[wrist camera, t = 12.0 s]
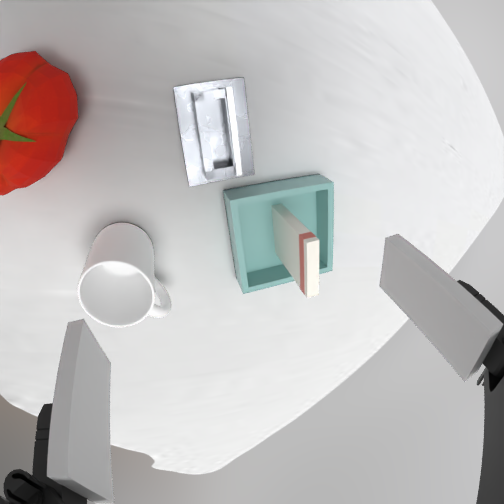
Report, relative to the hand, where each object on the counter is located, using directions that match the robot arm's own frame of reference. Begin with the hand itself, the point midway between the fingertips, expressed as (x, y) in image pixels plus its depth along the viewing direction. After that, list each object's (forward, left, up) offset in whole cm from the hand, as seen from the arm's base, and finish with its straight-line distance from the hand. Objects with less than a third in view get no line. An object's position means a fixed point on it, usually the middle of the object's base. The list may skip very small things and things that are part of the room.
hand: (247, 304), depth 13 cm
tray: (+11, +10, -27) cm, 31 cm away
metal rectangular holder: (-3, +4, -27) cm, 28 cm away
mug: (+11, -9, -28) cm, 31 cm away
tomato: (-10, -18, -28) cm, 35 cm away
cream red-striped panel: (+11, +10, -27) cm, 31 cm away
